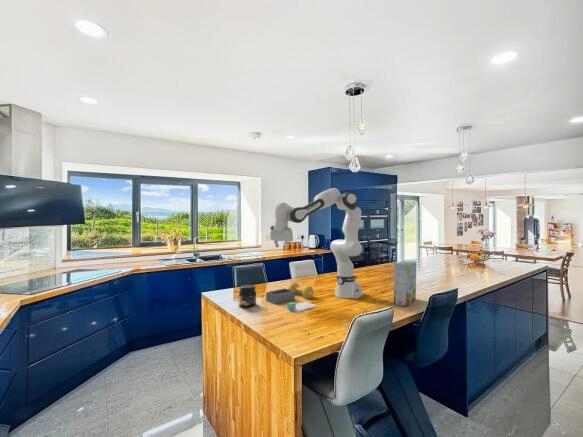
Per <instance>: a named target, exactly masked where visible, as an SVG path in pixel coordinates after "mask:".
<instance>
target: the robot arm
mask: <svg viewBox="0 0 583 437" xmlns="http://www.w3.org/2000/svg"><path fill="white" fill-rule="evenodd" d="M332 205H334V206H335V208H336V209H337V210H339V211H345V217H344V220H343V224H342V228H341V231H342V233H343V235H344V239H334V240H332V241H331V242H330V245H329V246H330V251H331V252H332V253H333V255H334V257H335V261H336V265H337V266H336V268H337V269H336V270H337V272H336V273H337V275H336V283H335V291H334V296H335V297H338V298H341V299H342V298H343V299H358V298H360V297H363V296H364V295H366V293H365V292H364V291H362V285H361V284H360V283H358V282H357V281H356V279H358V275H355V274H354V270H355V269H354V268H355V267H354V263H353V262H352V261H351V259H350V257H358V256H360V255H361V254H362V251H363V250H362V248H363V247H362V244H361V243H360V240H359V237H358V235H359V234H358V233H359V228H360V224H361V220H362V209H361V208H360V207H358V206H359V203H358V197H357V195H356V194H355V193H354V192H351V191H348V192H344V193H343V194H342V193H341V192H340V190H339V189H338V188H336V187H332V188H328V189H325V190H323V191H322V192H320V193H318V194H316V195H315V196H314V198H313V201H311V202H309V203H308V204H306V205H304V206H297V207H293V206H291V205H289V204H288V203H287V202H282V203H278V204H276V206H275V207H274V209H275V210H274V218H275V221H274V224H273V225H271V226H270V227H269V229H270V234H269V236H270V237H269V238H270V240H271V241H274V245H275V248H279V246H280V245H279V242H284V243H285V245H284V249H288V248H289V244H290V243H291V242H293V241H294V234H293V230H292V228H291V227H289V222H291V223H296V224H300V223H303V222H304V221H305V219H306V218H307V217H308V216H309V215H311V214H313V213H315V212H317V211H318V210H323V209H326V208H329V207H331V206H332Z"/></svg>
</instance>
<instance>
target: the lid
mask: <svg viewBox="0 0 583 437" xmlns="http://www.w3.org/2000/svg"><path fill="white" fill-rule="evenodd" d="M286 305H287V306H285V308H287V310H288V311H289V312H295V313H299V312H303V311H307V310H309V309H314V308H318V305H316V304H314V303H310V302H308V301H304V302H299V303H296V302H295V301H294V302H287V303H286Z"/></svg>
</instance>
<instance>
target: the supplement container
mask: <svg viewBox="0 0 583 437" xmlns="http://www.w3.org/2000/svg"><path fill="white" fill-rule="evenodd" d="M238 295H239V296H238V299H239V300H238V306H239V307H240V308H242V307H243V308H242V309H251V308H252V307H255V306H257V291H256V285H254V284H243V285H240V286H239V292H238Z"/></svg>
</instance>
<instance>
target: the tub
mask: <svg viewBox="0 0 583 437" xmlns="http://www.w3.org/2000/svg"><path fill="white" fill-rule="evenodd" d="M295 299H296V294H295V291H293V290H289V289H288V288H281V289H276V290H271V291H266V292H265V301H266V302H268V303H272V304H275V305H277V304H282V303H286V302H290V301H294V300H295Z"/></svg>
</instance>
